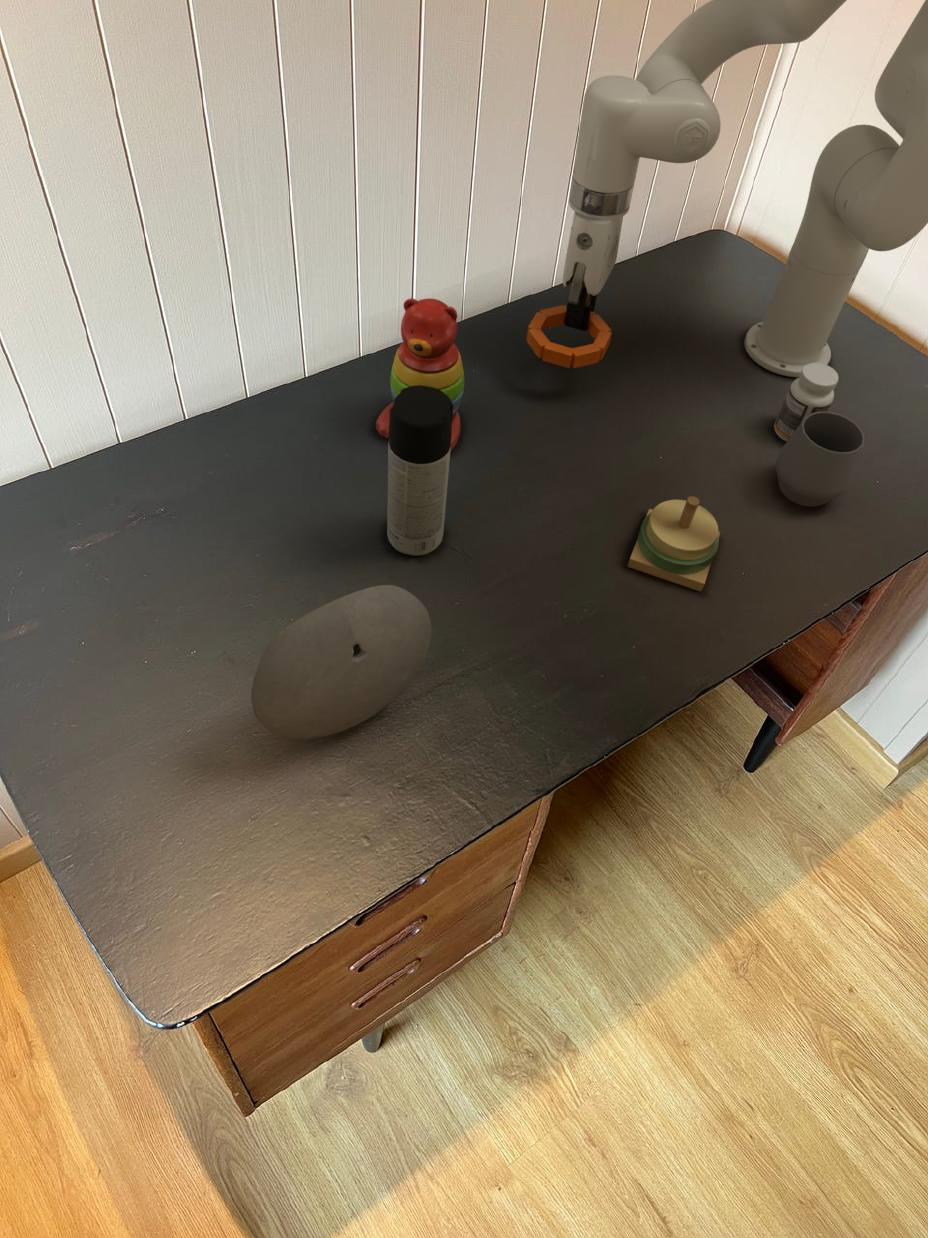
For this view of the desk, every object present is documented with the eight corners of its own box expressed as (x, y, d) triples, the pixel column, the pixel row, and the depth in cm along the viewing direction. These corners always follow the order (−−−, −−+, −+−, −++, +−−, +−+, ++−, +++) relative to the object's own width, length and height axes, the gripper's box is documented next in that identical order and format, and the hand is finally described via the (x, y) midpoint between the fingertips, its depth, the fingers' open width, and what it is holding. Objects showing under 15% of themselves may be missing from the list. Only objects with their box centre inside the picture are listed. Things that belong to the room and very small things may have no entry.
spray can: (451, 525, 110) (463, 392, 94) (431, 565, 106) (440, 433, 90) (399, 509, 110) (403, 375, 95) (378, 548, 106) (377, 414, 91)
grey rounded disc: (408, 655, 98) (413, 537, 83) (443, 704, 94) (455, 590, 79) (248, 731, 91) (222, 617, 76) (279, 787, 87) (259, 679, 72)
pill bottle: (811, 421, 126) (839, 362, 119) (816, 449, 123) (846, 390, 115) (770, 416, 127) (796, 356, 119) (774, 444, 123) (801, 384, 115)
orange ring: (543, 310, 127) (545, 298, 126) (616, 330, 125) (618, 318, 124) (517, 353, 121) (519, 340, 120) (593, 375, 119) (596, 362, 118)
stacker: (645, 516, 113) (663, 462, 106) (718, 539, 111) (741, 486, 104) (626, 567, 108) (643, 514, 100) (701, 592, 106) (725, 541, 99)
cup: (854, 498, 118) (888, 440, 110) (807, 528, 114) (840, 469, 106) (797, 456, 122) (827, 396, 114) (751, 483, 118) (778, 423, 110)
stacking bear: (370, 433, 118) (369, 314, 104) (402, 389, 124) (405, 270, 110) (446, 459, 116) (456, 342, 102) (476, 413, 122) (488, 295, 108)
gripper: (612, 231, 106) (587, 362, 120) (647, 170, 115) (619, 299, 129) (551, 215, 107) (534, 347, 122) (590, 157, 116) (569, 286, 131)
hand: (578, 321), depth 126 cm, fingers closed on orange ring, 1 cm apart
